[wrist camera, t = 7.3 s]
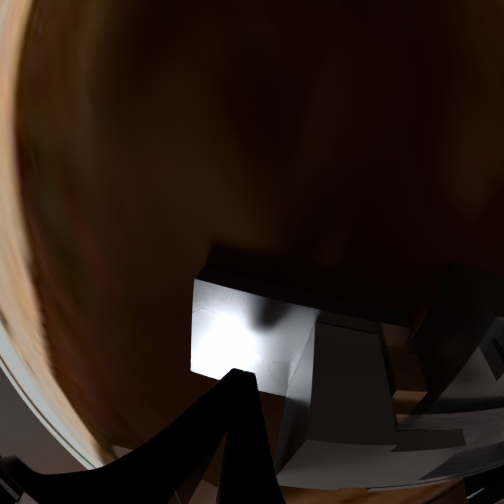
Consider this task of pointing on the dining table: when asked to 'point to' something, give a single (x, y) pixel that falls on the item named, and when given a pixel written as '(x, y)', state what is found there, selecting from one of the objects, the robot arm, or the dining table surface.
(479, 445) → the light grey flat bar
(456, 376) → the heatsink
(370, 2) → the dining table surface
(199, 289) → the clip rail
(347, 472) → the clip
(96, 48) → the dining table surface
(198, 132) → the dining table surface
